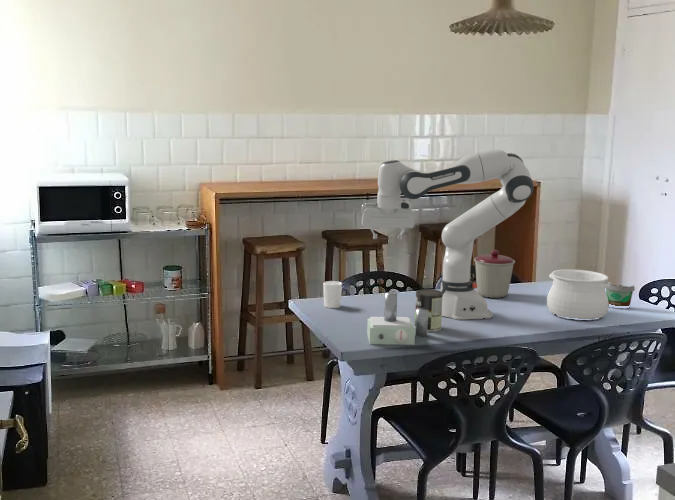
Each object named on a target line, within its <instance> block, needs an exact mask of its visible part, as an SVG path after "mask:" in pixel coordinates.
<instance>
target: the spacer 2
mask: <svg viewBox="0 0 675 500" xmlns="http://www.w3.org/2000/svg"><path fill="white" fill-rule="evenodd" d="M415 312H416V328H415V337H419V338H426V337H428V332H427V328H428V309H427V308H417V309H416V308H415Z"/></svg>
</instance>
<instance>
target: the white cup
mask: <svg viewBox="0 0 675 500" xmlns="http://www.w3.org/2000/svg"><path fill="white" fill-rule="evenodd" d="M322 287H323V289H322V290H323V291H322V292H323V306H324V307H325V308H329V309H337V308H340V307H341V302H342V301H341V300H342V289H343V283H342V281H336V280H329V281H324V282H323V284H322Z"/></svg>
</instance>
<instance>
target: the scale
mask: <svg viewBox="0 0 675 500" xmlns="http://www.w3.org/2000/svg"><path fill="white" fill-rule="evenodd" d="M415 329H416V328H415V324H414V323H413V320H412V318H409V317H408V316H396V321H395V322H387V321H385V320H384V316H370V317H367V327H366V334H367V340H368V343H369V345H398V346H399V345H402V346H404V345H407V346H408V345H409V346H410V345H413V346H414V345H416V344H415V343H416V341H415V340H416V339H415V337H416V336H415Z"/></svg>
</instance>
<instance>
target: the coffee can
mask: <svg viewBox="0 0 675 500" xmlns="http://www.w3.org/2000/svg"><path fill="white" fill-rule="evenodd" d="M442 299H443V292H441V290H437V289H432V288H431V289H430V288H429V289H428V288H425V289H424V288H423V289H418V290H416V291H415V310H416V309H417V308H427V309H428V328H427V333H429V332H430V333H432V332H433V333H434V332H438V331H441V329H442V317H443V316H442ZM414 314H415V316H414V327H415V329H416V311H415V312H414Z"/></svg>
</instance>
